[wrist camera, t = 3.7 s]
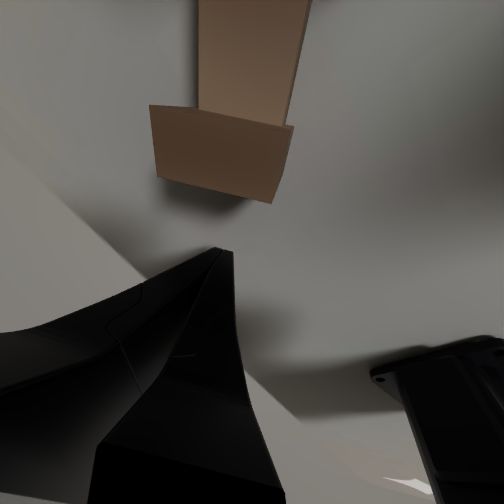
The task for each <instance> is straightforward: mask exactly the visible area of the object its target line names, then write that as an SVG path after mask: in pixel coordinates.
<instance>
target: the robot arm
mask: <svg viewBox="0 0 504 504" xmlns="http://www.w3.org/2000/svg"><path fill="white" fill-rule="evenodd" d="M369 374H370V378H371V381H372V382H374V383H375V384H376V385H378V386H379V387H380V388H381V389H383V390H384V391H385V392H387V393H388V394H389V395H391V396H392V397H393V398H395V399H396V400H397V401H399V402H400V403H401V404H403V406H404V409H405V412H406V415H407V418H408V421H409V424H410V427H411V429H412V432H413V435H414V438H415V441H416V444H417V447H418V450H419V453H420V456H421V459H422V462H423V465H424V468H425V471H426V474H427V477H428V480H429V483H430V486H431V489H432V492H433V495H434V498H435V501H436V504H504V339H501V338H492V339H486V340H483V341H479V342H475V343H471V344H467V345H463V346H459V347H455V348H452V349H448V350H444V351H440V352H436V353H432V354H428V355H425V356H421V357H417V358H413V359H409V360H405V361H401V362H398V363H394V364H390V365H386V366H382V367H378V368H374V369H372V370H370V371H369ZM0 504H286V499H285V492H284V490H283V488H282V485H281V482H280V480H279V477H278V475H277V472H276V469H275V467H274V464H273V461H272V459H271V456H270V454H269V451H268V448H267V446H266V443H265V440H264V438H263V435H262V432H261V430H260V427H259V425H258V422H257V419H256V417H255V414H254V411H253V408H252V405H251V401H250V398H249V393H248V389H247V384H246V379H245V374H244V369H243V364H242V359H241V354H240V348H239V343H238V336H237V330H236V314H235V287H234V257H233V252H232V251H228V250H223V249H220V248H216V247H214V248H212V249H209V250H207V251H205V252H203V253H201V254H199V255H197V256H195V257H193V258H191V259H189V260H187V261H185V262H183V263H181V264H179V265H177V266H175V267H173V268H171V269H169V270H167V271H165V272H162V273H160V274H158V275H156V276H154V277H152V278H150V279H148V280H146V281H144V282H143V283H140V284H138V285H136V286H134V287H132V288H130V289H127V290H125V291H123V292H121V293H119V294H117V295H115V296H112V297H110V298H107V299H105V300H102V301H100V302H98V303H95V304H93V305H90V306H88V307H85V308H83V309H80V310H78V311H75V312H73V313H71V314H68V315H65V316H63V317H61V318H58V319H55V320H53V321H50V322H48V323H45V324H42V325H40V326H36V327H33V328H29V329H25V330H20V331H14V332H5V333H0Z"/></svg>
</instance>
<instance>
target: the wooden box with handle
mask: <svg viewBox="0 0 504 504" xmlns="http://www.w3.org/2000/svg"><path fill="white" fill-rule="evenodd" d="M311 3H312V0H199V108H194V107H177V106H160V105H149V110H150V119H151V128H152V136H153V145H154V154H155V162H156V171H157V177H161V178H165V179H169V180H173V181H177V182H181V183H186V184H190V185H194V186H198V187H202V188H207V189H211V190H215V191H219V192H223V193H227V194H232V195H236V196H240V197H244V198H248V199H253V200H257V201H261V202H265V203H269V204H272V201H273V199H274V196H275V193H276V191H277V188H278V185H279V183H280V180H281V177H282V175H283V171H284V167H285V162H286V158H287V154H288V150H289V146H290V142H291V138H292V133H293V129H294V126H290V125H285V122H286V118H287V113H288V109H289V104H290V99H291V95H292V90H293V86H294V81H295V76H296V72H297V67H298V63H299V58H300V54H301V49H302V44H303V40H304V35H305V31H306V26H307V21H308V17H309V12H310V8H311Z"/></svg>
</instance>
